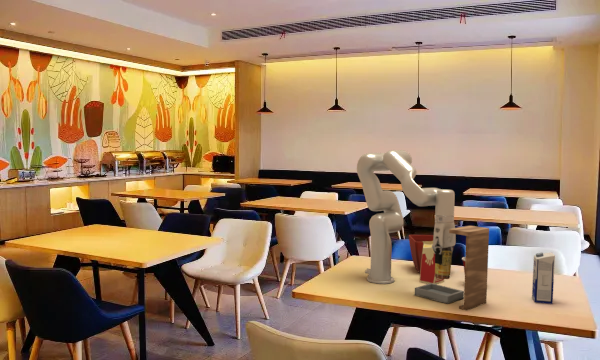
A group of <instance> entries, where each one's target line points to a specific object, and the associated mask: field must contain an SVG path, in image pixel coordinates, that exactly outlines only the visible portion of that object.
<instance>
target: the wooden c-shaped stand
mask: <svg viewBox="0 0 600 360" xmlns="http://www.w3.org/2000/svg"><path fill="white" fill-rule="evenodd" d="M449 233H452V234H456V235H461V236H465V254H464V255H465V256H464V257H465V273H464V285H463V286H464V289H463V291H464V298H463V304H461V305H459V308H458V309H460V310H463V311H468V310H469V311H470V310H471V309H475V308H477V307H480V306H483V305H485V304H487V292H488V291H487V290H488V269H489V241H490V228H489V227H482V226H477V225H476V226H475V225H465V226H460V227H459V226H458V227H455V228H453V229H449Z"/></svg>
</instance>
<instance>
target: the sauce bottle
mask: <svg viewBox="0 0 600 360" xmlns="http://www.w3.org/2000/svg"><path fill="white" fill-rule="evenodd" d="M438 246H439V247H440V245H438ZM438 249H439V251H440V248H438ZM451 256H452V257H453V252H452V249H451V247H448V248H443V250H442V264H437V263H436V264H435V277H436V278H439V279H444V280H450V278H451V277H450V276H451V271H452V270H451V269H452V262H451Z"/></svg>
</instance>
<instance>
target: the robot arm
mask: <svg viewBox="0 0 600 360" xmlns="http://www.w3.org/2000/svg"><path fill="white" fill-rule="evenodd" d="M412 162H413V158H412V155H411V154H410V153H409V152H408V150H407V151H406V150H402V149H401V150H400V149H397V150H396V149H393V150H392V149H391V150H388V151H386V152H368V153H365V154H362V155H361V156H360V157H359V159H358V160H357V163H356V173H357V176H358V178H359V181H360V184H361V186H362V190H363V194H364V197H365V202H366V205H367V208H368V209H369V210H370V211H372V212H381V213H376V214H374V215H372V216H371V218H370V219H369V225H368V227H369V231H370V268H366V270H365V271H364V273H365V274H368V276H367V277H366V280H367V281H368V282H370V283H373V284H380V285H385V284H387V285H388V284H392V283H394V282H395V278H394V277H393V276H392V246H393V245H392V239H391V236H390V234H391V233H396V232H399V231H401V230H402V229H403V227H404V217H403V214H402V213H403V212H402V209H401V206H400V203H399V200H398V197H397V195H396V194H395V192H394V191H391V190H387V189H386V190H385V189H384V190H383V188H382V186H381V182H380V179H379V178H378V176H377V175H376V173H374V172H385V171H386V172H387V171H390V173H391V174H392V175H393V176H395V177H396V179H398V180H399V181H400V184H401V189H402V191H403V193H404V195H405V196H406V198H408V199H409V201H411V202H412V204H414V205H416V206H417V207H428V206H430V207H431V206H432V207H433V206H435V213H434V227H433V228H434V229H433V235H434V237H433V245H432V248H433V250H434V254H435V263H437V264H442V250H443V248H448V247H451V249H452V253H453V251H454V248H453V247H455V245H456V242H457V241H456V240H457V239H456V238H457V237H456V235H457V234H452V233H449V229H453V228H456V224H455V201H456V200H455V195H456V194H455V191H454V190H453V189H443V188H442V189H441V188H438V187H422V188H421V187H420V185H418V184H417V183H416V182H415V180H414V179H415V177H416V175H417V169H416V168H415V166H413V165H412ZM382 211H383V212H382ZM438 245H440V247H439V246H438ZM438 248H440V251H439V249H438ZM452 257H453V255H452V256H451V263H452V261H453V258H452Z"/></svg>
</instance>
